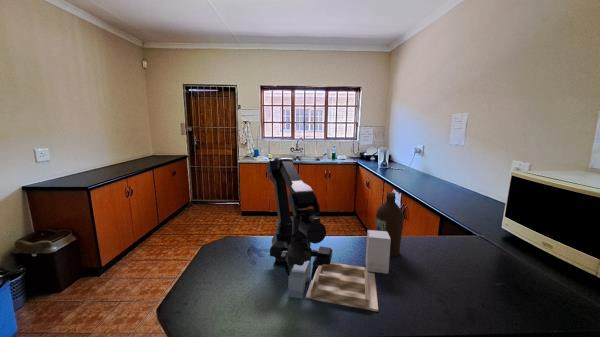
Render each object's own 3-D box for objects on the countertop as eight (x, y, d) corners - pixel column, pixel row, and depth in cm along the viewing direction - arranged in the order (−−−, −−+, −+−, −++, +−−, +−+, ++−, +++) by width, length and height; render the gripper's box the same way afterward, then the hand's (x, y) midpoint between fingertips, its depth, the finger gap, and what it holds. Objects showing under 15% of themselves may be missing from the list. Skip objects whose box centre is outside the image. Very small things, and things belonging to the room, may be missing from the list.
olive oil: (390, 245, 106) (394, 189, 102) (406, 256, 95) (411, 195, 92) (368, 247, 103) (372, 190, 100) (382, 259, 93) (387, 196, 90)
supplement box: (388, 274, 83) (391, 239, 81) (366, 271, 84) (368, 237, 83) (385, 263, 90) (387, 231, 88) (365, 261, 91) (367, 229, 90)
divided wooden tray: (305, 298, 69) (306, 289, 69) (316, 266, 87) (316, 259, 86) (378, 311, 65) (378, 302, 64) (374, 275, 82) (374, 267, 82)
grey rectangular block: (288, 297, 70) (288, 276, 69) (299, 273, 82) (299, 255, 81) (301, 299, 69) (302, 278, 68) (310, 275, 81) (311, 256, 80)
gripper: (262, 236, 68) (262, 288, 70) (328, 245, 63) (326, 299, 65) (275, 223, 78) (275, 268, 80) (333, 229, 74) (331, 277, 76)
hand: (300, 277), depth 75 cm, fingers open, 7 cm apart
